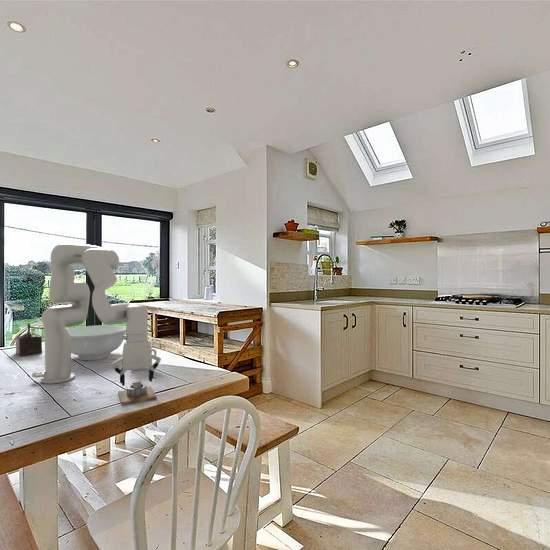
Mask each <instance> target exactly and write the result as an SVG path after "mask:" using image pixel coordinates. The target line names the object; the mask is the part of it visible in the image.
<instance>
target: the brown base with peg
mask: <svg viewBox="0 0 550 550" xmlns="http://www.w3.org/2000/svg"><path fill="white" fill-rule="evenodd" d="M141 383H142V381H141V380H134V381H133V382H132V384H133V388H140V387H141ZM117 395H118V398H120V399H119V401H120V406H125V405H124V404H126V405H131V404H137V403H141V402H142V401H143V402H149V401H155V400H157V395H156V393H155V391H154V389H153V388H152V386H147V394H146V395H144V396H141V397H135V398H133V397H127V389H125V390H120V391H119V390H118V392H117ZM143 402H142V403H143ZM130 403H131V404H130Z"/></svg>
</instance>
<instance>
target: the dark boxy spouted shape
mask: <svg viewBox="0 0 550 550" xmlns="http://www.w3.org/2000/svg"><path fill="white" fill-rule="evenodd" d="M26 327H27V332H26V333H24V334H22V335H18V336H15V353H16V355H17V356H18V357H27V356H33V355H37V354H39V355H40V354H42V353H43V343H42V342H43V338H42V336H41V335H40V334H37V333H34V332H31V329H35V330H36V329H37V330H44V327H42V326H31V323H27V326H26Z"/></svg>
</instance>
